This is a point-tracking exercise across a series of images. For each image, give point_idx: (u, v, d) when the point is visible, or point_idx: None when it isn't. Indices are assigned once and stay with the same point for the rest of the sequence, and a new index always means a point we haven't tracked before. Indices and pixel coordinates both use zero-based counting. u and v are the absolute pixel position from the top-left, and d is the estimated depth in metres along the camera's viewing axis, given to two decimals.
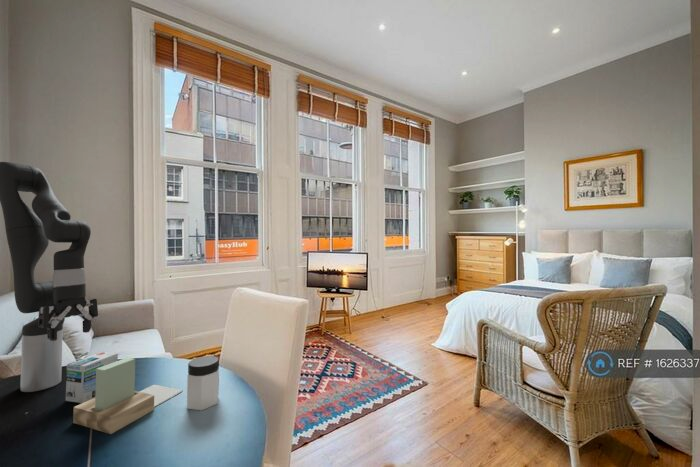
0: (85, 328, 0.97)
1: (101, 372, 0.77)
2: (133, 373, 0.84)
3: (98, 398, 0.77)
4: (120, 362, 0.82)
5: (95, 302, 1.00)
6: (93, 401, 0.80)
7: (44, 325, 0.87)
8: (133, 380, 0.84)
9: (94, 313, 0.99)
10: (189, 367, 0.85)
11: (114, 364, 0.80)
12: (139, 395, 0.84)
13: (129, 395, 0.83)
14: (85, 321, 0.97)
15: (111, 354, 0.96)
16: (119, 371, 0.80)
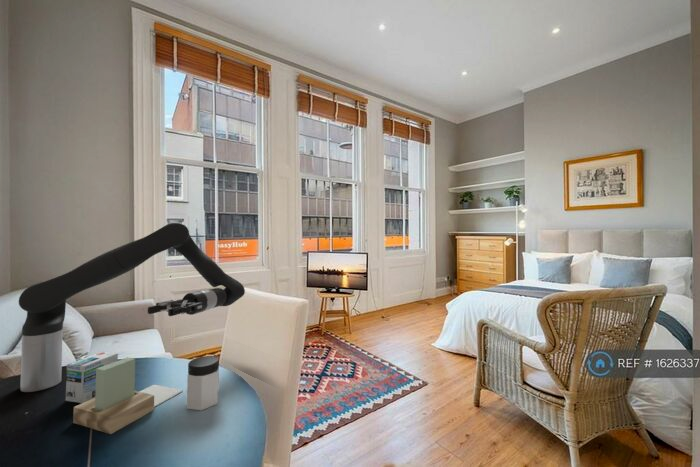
0: (153, 310, 0.95)
1: (101, 371, 0.77)
2: (133, 373, 0.84)
3: (98, 398, 0.77)
4: (120, 362, 0.82)
5: None
6: (93, 401, 0.80)
7: None
8: (133, 380, 0.84)
9: None
10: (189, 367, 0.85)
11: (114, 364, 0.80)
12: (139, 395, 0.84)
13: (129, 395, 0.83)
14: (159, 309, 0.97)
15: (111, 354, 0.96)
16: (119, 371, 0.80)
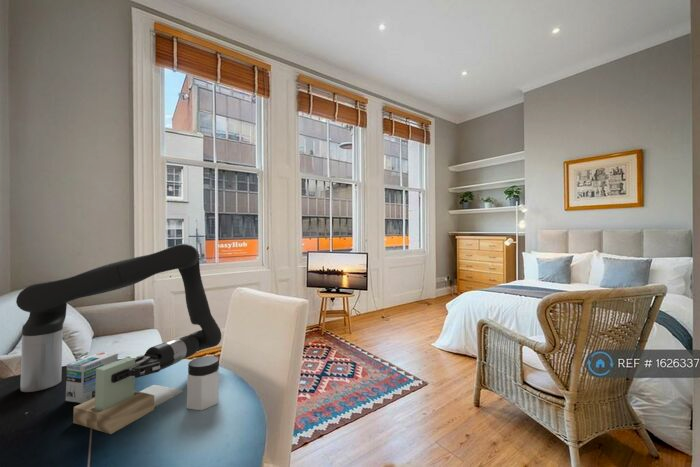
0: None
1: (101, 371, 0.77)
2: None
3: (98, 398, 0.77)
4: (120, 362, 0.82)
5: None
6: (93, 401, 0.80)
7: None
8: (133, 380, 0.84)
9: None
10: (189, 367, 0.85)
11: (114, 364, 0.80)
12: (139, 395, 0.84)
13: (129, 395, 0.83)
14: None
15: (111, 354, 0.96)
16: (119, 371, 0.80)
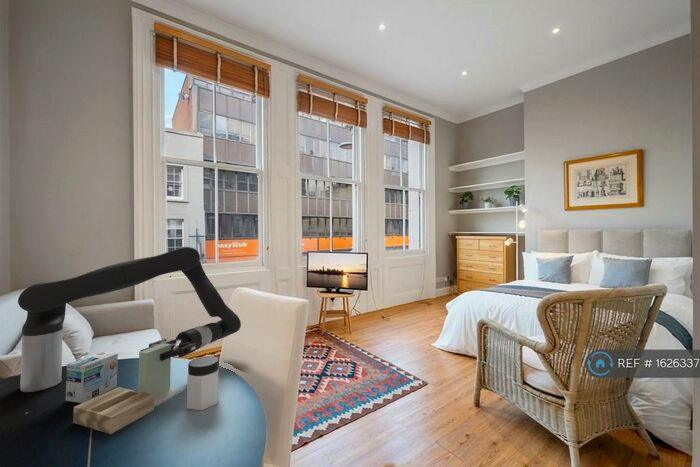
0: None
1: (144, 354, 0.88)
2: None
3: (141, 378, 0.88)
4: (158, 347, 0.92)
5: None
6: (93, 401, 0.80)
7: None
8: (169, 363, 0.95)
9: None
10: (189, 367, 0.85)
11: (154, 348, 0.91)
12: (139, 395, 0.84)
13: (166, 376, 0.94)
14: None
15: (111, 354, 0.96)
16: (158, 354, 0.91)
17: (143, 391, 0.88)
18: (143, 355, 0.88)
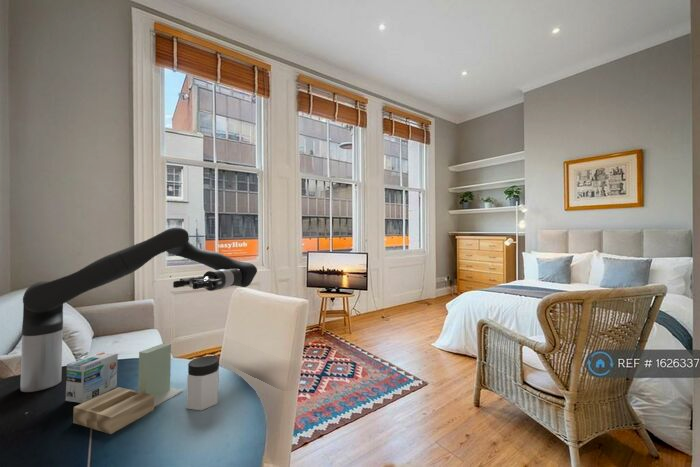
0: (177, 284, 1.04)
1: (144, 354, 0.88)
2: (169, 357, 0.95)
3: (141, 378, 0.88)
4: (158, 347, 0.92)
5: None
6: (93, 401, 0.80)
7: None
8: (169, 363, 0.95)
9: None
10: (189, 367, 0.85)
11: (154, 348, 0.91)
12: (139, 395, 0.84)
13: (166, 376, 0.94)
14: (183, 283, 1.06)
15: (111, 354, 0.96)
16: (158, 354, 0.91)
17: (143, 391, 0.88)
18: (143, 355, 0.88)
